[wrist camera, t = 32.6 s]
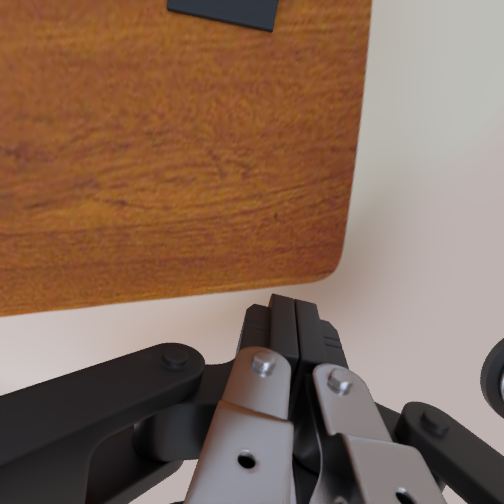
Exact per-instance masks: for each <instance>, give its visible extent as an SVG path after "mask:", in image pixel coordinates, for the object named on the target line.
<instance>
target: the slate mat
mask: <svg viewBox="0 0 504 504" xmlns="http://www.w3.org/2000/svg"><path fill="white" fill-rule="evenodd" d="M277 4H278V0H168V4H167V8H168V10H169V11H174V12H179V13H183V14H188V15H193V16H198V17H203V18H207V19H212V20H217V21H222V22H227V23H231V24H236V25H241V26H246V27H250V28H255V29H260V30H265V31H270V32H272V31H273V26H274V20H275V15H276V9H277Z"/></svg>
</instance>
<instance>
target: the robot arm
mask: <svg viewBox="0 0 504 504" xmlns="http://www.w3.org/2000/svg"><path fill="white" fill-rule="evenodd" d="M498 391H499V395H500V398H501V400H502V401H503V403H504V365H503V367H502V369H501V371H500V374H499V378H498ZM193 459H199V460H198V462H197V465H196V468H195V471H194V474H193V477H192V480H191V483H190V486H189V488H188V491H187V495H186V498H185V500H184V501H181V502H174V503H171V504H447V503H446V501H445V499H444V497H443V495H442V492H443V490H444V488H445V486H446V484H447V485H448V486H449V487H450V488H451V489H452V490H453V491H454V492H455V493H457V494H458V495H459V496H460V497H461V498H462V499H463V500H464V501H465V502H467V503H468V504H504V456H502V455H501V454H500V453H499V452H497V451H496V450H495V449H493V448H492V447H491V446H489V445H488V444H487V443H485V442H484V441H483V440H481V439H479V437H477V436H476V435H474V434H473V433H472V432H471V431H469V430H468V429H467V428H465V427H464V426H462V425H461V424H460V423H458V422H457V421H456V420H454V419H453V418H452V417H450V416H449V415H448V414H446V413H445V412H443V411H441V410H440V409H438V408H436V407H434V406H431V405H429V404H426V403H422V402H409V403H407V404H405V406H404V407H403V410H402V412H401V414H400V413H397V412H395V411H393V410H391V409H389V408H386V407H384V406H382V405H380V404H378V403H376V402H374V400H373V399H372V396H371V394H370V392H369V389H368V387H367V385H366V384H365V382H364V381H363V380H362V379H361V378H360V377H359V376H358V375H357V374H355V373H354V372H352V371H350V370H349V368H348V365H347V362H346V358H345V355H344V352H343V350H342V345H341V342H340V339H339V335H338V332H337V330H336V329H335V328H334V327H333V326H332V325H331V324H330V323H329V322H328V321H324V320H320V319H319V314H318V310H317V306H316V304H314V303H310V302H306V301H301V300H297V299H293V298H289V297H285V296H281V295H276V294H272V295H271V298H270V301H269V306H268V307H266V306H262V305H257V304H253V305H252V306H250V307H249V308H248V309H247V310H246V314H245V318H244V322H243V326H242V330H241V334H240V338H239V343H238V346H237V351H236V356H235V358H234V359H233V360H231V361H230V362H227V363H223V364H217V365H216V364H214V365H208V364H207V365H205V360H204V358H203V356H202V355H201V354H200V353H199V352H198V351H197V350H195V349H194V348H192V347H189V346H187V345H184V344H180V343H162V344H158V345H155V346H152V347H149V348H146V349H143V350H140V351H137V352H134V353H130V354H127V355H125V356H121V357H118V358H115V359H112V360H109V361H106V362H103V363H100V364H97V365H94V366H91V367H88V368H85V369H81V370H79V371H75V372H72V373H69V374H66V375H63V376H60V377H57V378H54V379H51V380H48V381H45V382H42V383H38V384H35V385H32V386H29V387H26V388H23V389H20V390H17V391H14V392H11V393H8V394H5V395H2V396H0V504H128V503H130V502H131V501H133V500H134V499H136V498H137V497H139V496H140V495H142V494H143V493H145V492H146V491H147V490H149V489H150V488H152V487H154V486H155V485H157V484H158V483H160V482H161V481H163V480H164V479H166V478H167V477H169V476H170V475H172V474H173V473H174V472H176V471H177V470H178V469H179V468H180V467H181V465H182V463H183V461H184V460H193Z"/></svg>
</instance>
